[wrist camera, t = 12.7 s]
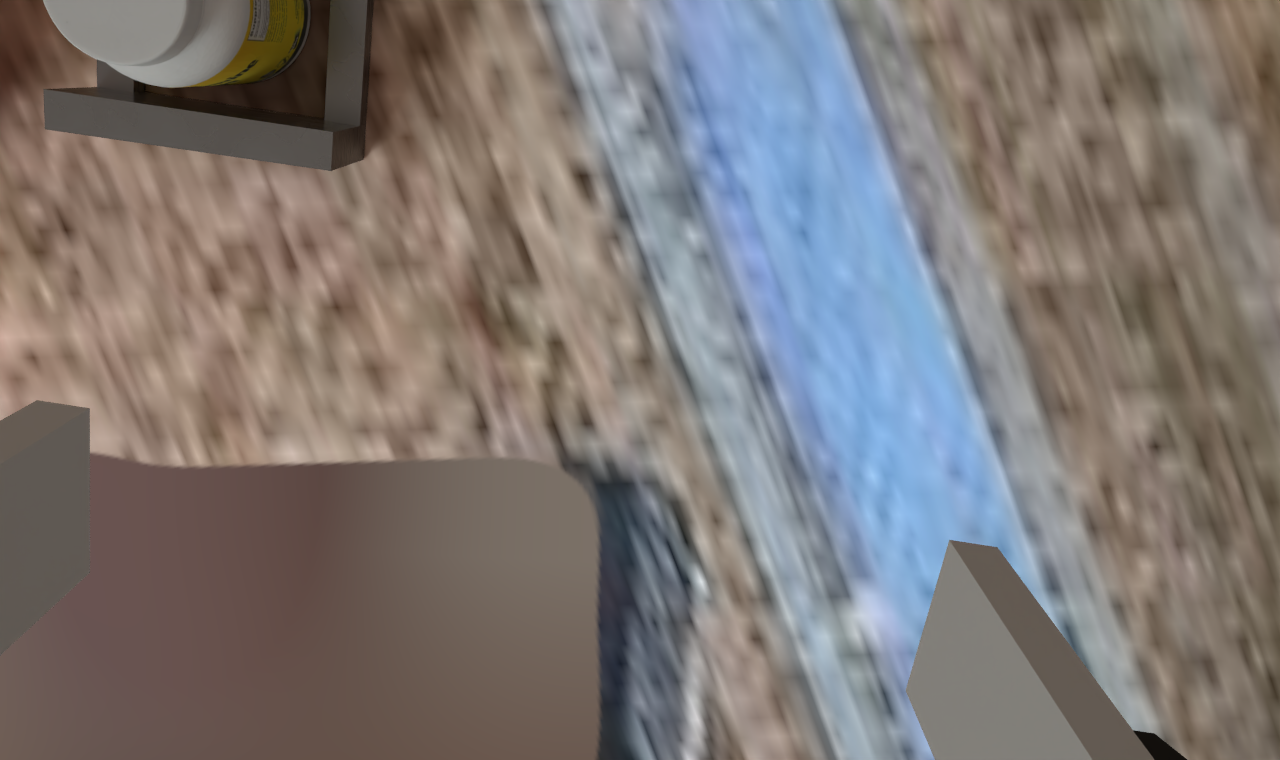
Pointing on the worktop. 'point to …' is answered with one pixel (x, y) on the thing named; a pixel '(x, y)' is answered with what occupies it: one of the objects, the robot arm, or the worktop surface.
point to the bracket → (235, 109)
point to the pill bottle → (187, 37)
